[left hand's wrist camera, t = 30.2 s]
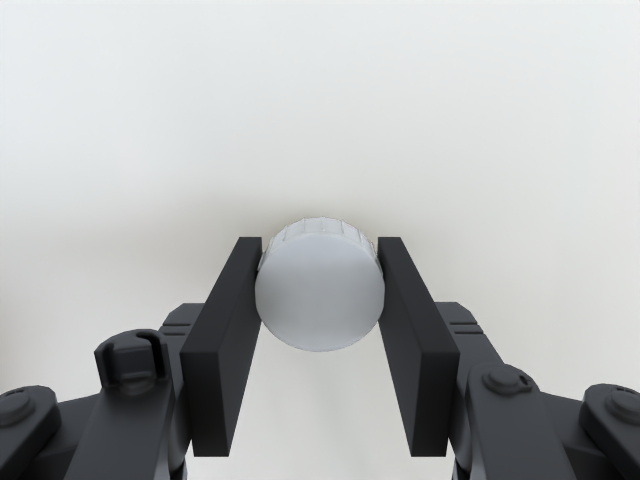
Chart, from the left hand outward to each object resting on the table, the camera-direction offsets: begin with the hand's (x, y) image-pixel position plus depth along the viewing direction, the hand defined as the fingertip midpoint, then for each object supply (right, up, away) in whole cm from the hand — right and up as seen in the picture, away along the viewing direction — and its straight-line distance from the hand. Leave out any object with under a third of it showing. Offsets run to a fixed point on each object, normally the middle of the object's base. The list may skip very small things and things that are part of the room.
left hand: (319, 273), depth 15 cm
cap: (0, 0, -2) cm, 2 cm away
